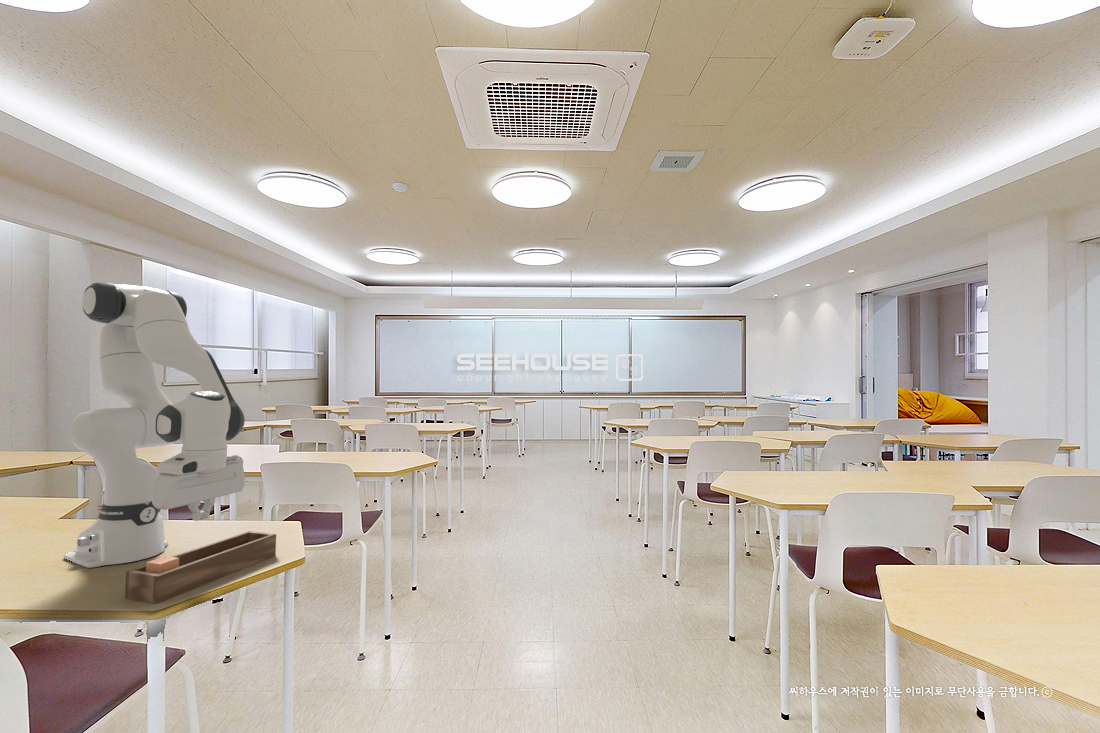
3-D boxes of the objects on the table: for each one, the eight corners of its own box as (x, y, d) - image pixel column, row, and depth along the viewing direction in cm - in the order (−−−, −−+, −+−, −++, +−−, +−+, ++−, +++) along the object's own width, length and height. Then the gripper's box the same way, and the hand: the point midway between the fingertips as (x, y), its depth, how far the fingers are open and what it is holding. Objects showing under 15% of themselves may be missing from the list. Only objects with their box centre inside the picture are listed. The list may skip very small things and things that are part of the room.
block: (145, 581, 104) (146, 562, 104) (164, 574, 108) (165, 556, 108) (159, 583, 103) (160, 564, 103) (178, 576, 107) (179, 557, 107)
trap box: (124, 598, 103) (125, 571, 103) (248, 551, 131) (249, 531, 132) (156, 603, 100) (157, 576, 100) (275, 555, 129) (276, 534, 129)
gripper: (233, 452, 126) (230, 506, 126) (149, 466, 106) (145, 529, 106) (252, 455, 124) (249, 509, 124) (170, 468, 105) (166, 533, 104)
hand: (200, 519), depth 115 cm, fingers closed
